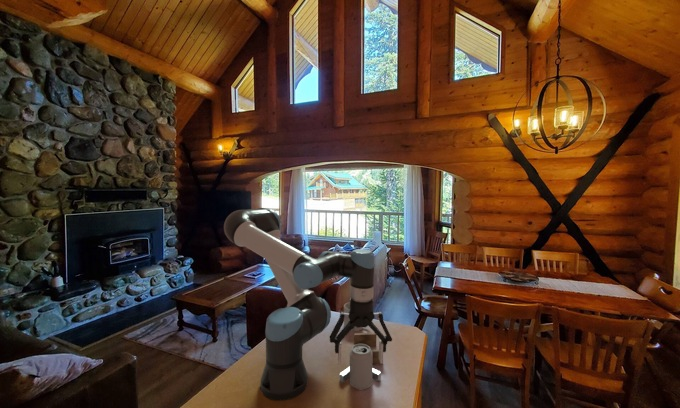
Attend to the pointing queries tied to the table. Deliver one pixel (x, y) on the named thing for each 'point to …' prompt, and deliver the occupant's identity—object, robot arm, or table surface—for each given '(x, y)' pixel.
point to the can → (361, 366)
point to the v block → (346, 375)
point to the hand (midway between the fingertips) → (360, 361)
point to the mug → (347, 310)
